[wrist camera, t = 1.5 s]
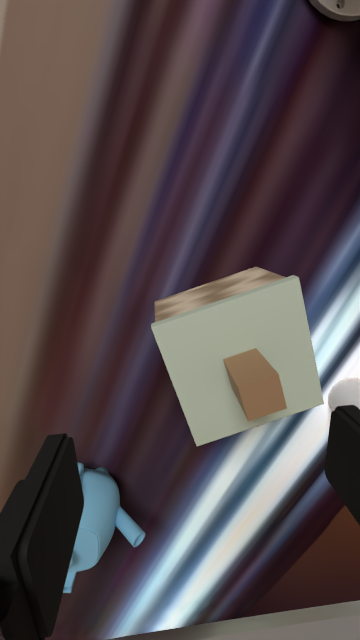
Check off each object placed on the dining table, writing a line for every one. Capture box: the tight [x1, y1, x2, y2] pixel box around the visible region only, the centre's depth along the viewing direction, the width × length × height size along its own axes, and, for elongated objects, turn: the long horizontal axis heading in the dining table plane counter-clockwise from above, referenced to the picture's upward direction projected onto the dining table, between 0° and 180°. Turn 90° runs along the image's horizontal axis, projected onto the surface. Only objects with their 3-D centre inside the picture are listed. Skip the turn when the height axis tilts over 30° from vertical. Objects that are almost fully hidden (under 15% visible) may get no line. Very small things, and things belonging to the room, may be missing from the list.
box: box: [155, 267, 286, 322], centre depth 36 cm, size 14×14×10 cm
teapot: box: [63, 462, 145, 593], centre depth 41 cm, size 15×14×11 cm
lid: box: [151, 275, 324, 446], centre depth 28 cm, size 15×15×8 cm
